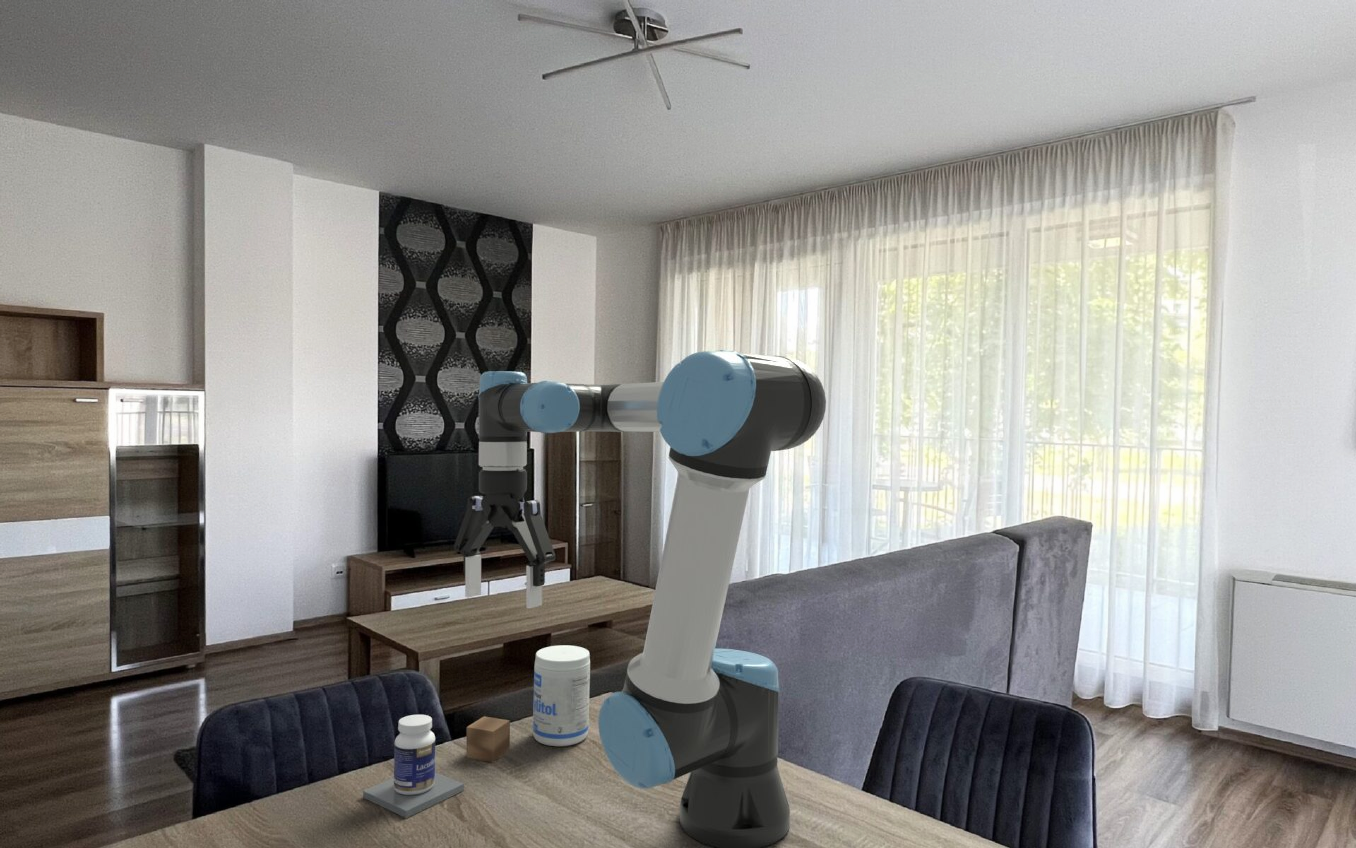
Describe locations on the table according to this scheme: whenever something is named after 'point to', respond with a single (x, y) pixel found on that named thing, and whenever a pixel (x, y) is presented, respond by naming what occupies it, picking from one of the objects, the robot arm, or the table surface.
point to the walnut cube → (488, 739)
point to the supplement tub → (561, 695)
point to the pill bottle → (414, 755)
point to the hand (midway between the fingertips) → (502, 601)
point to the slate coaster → (412, 803)
